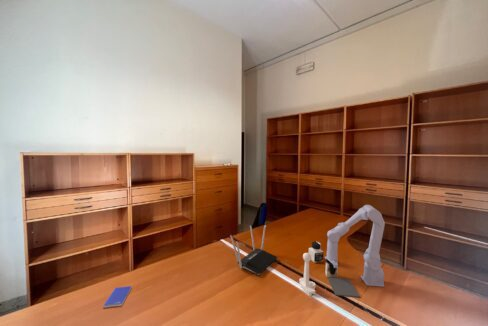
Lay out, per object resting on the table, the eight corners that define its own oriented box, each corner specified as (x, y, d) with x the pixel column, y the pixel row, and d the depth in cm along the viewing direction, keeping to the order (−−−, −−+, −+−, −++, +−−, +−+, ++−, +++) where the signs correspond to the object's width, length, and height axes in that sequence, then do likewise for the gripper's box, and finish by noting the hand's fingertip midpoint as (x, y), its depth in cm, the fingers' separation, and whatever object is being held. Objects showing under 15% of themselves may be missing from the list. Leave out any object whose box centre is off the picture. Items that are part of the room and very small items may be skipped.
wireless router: (254, 281, 114) (254, 248, 112) (224, 267, 128) (224, 236, 126) (280, 257, 141) (281, 229, 139) (254, 247, 154) (254, 221, 153)
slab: (335, 274, 122) (335, 263, 121) (337, 277, 119) (337, 266, 118) (325, 273, 122) (325, 262, 122) (326, 276, 119) (327, 265, 119)
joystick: (297, 282, 114) (298, 248, 113) (309, 280, 115) (310, 247, 114) (307, 296, 103) (308, 259, 102) (320, 294, 105) (322, 257, 103)
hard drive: (121, 303, 96) (131, 286, 108) (103, 305, 94) (115, 287, 106) (121, 306, 96) (131, 288, 108) (103, 308, 94) (115, 290, 106)
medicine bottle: (314, 263, 133) (315, 245, 133) (308, 257, 140) (308, 240, 139) (323, 261, 135) (324, 244, 135) (316, 256, 142) (317, 239, 141)
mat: (348, 279, 116) (348, 278, 116) (360, 297, 103) (360, 296, 103) (327, 278, 118) (327, 277, 118) (335, 295, 104) (335, 294, 104)
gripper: (321, 244, 127) (321, 264, 128) (329, 256, 113) (328, 279, 114) (333, 245, 126) (332, 265, 127) (342, 257, 112) (341, 280, 113)
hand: (331, 272), depth 120 cm, fingers closed on slab, 3 cm apart
